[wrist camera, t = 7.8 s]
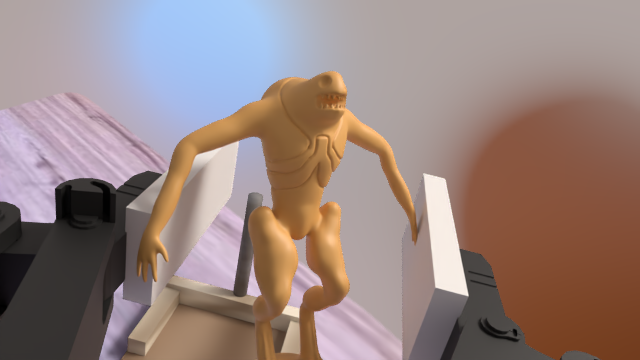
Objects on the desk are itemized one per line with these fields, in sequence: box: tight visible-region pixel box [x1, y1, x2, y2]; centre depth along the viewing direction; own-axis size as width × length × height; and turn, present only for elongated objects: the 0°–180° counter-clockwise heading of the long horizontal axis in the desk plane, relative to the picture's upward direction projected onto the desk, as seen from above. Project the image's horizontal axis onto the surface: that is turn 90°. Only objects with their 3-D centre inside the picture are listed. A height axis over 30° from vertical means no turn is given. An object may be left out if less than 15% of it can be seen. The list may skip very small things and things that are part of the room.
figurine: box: [137, 71, 417, 360], centre depth 13 cm, size 8×6×12 cm
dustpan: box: [121, 193, 300, 360], centre depth 30 cm, size 11×14×10 cm
